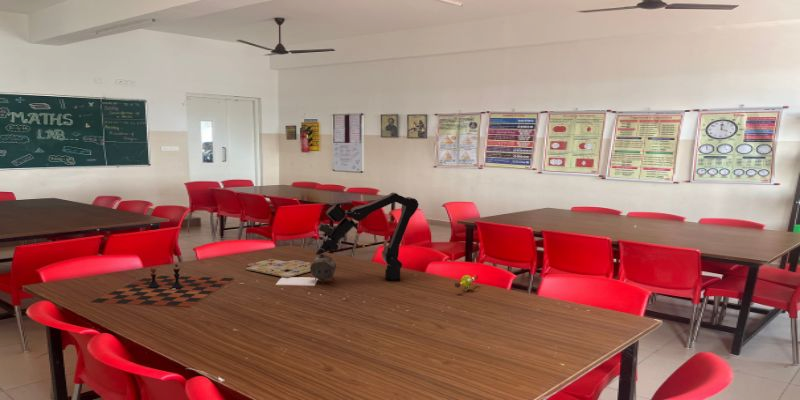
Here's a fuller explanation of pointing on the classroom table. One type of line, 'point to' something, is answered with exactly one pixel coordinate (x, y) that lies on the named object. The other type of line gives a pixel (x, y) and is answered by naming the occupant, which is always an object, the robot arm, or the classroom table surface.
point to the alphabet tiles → (280, 267)
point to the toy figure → (466, 281)
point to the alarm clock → (323, 267)
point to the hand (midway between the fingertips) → (316, 254)
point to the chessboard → (166, 290)
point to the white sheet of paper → (297, 281)
